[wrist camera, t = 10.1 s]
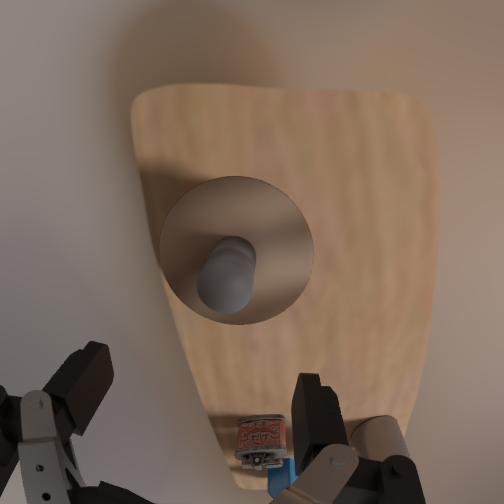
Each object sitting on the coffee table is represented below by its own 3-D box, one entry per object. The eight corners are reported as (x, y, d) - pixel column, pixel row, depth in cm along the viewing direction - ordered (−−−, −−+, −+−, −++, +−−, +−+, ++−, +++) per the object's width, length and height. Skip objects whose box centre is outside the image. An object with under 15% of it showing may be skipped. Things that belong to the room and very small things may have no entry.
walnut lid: (338, 274, 26) (359, 314, 19) (219, 340, 29) (207, 388, 22) (256, 144, 23) (252, 141, 16) (135, 232, 26) (96, 259, 19)
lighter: (240, 428, 46) (236, 474, 37) (236, 417, 45) (230, 464, 36) (287, 424, 45) (289, 470, 36) (284, 412, 44) (286, 460, 35)
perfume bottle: (289, 457, 49) (291, 507, 38) (310, 466, 50) (314, 512, 39) (268, 468, 51) (267, 515, 39) (288, 476, 52) (289, 520, 41)
